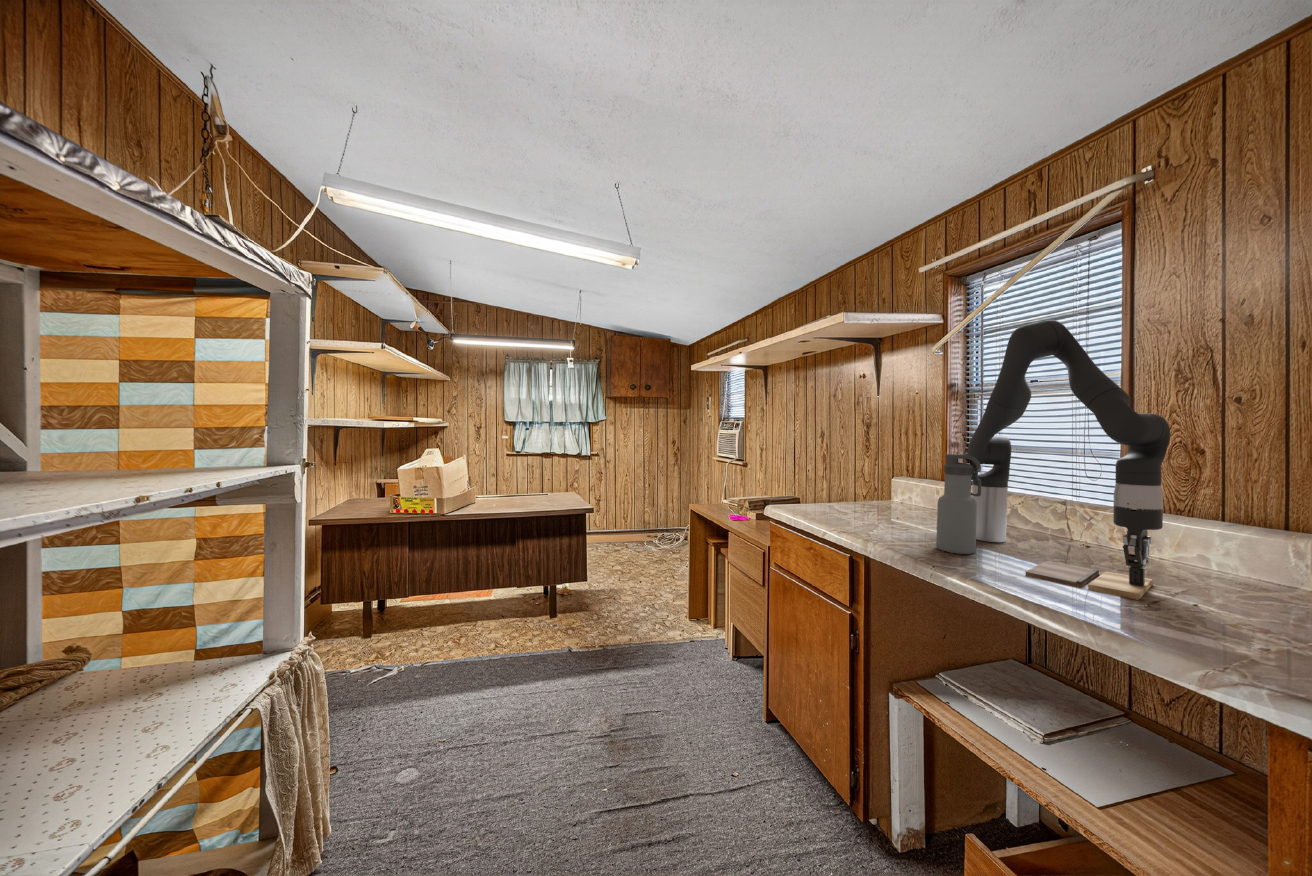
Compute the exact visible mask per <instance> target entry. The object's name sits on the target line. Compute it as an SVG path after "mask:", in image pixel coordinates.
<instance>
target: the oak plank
mask: <svg viewBox="0 0 1312 876" xmlns="http://www.w3.org/2000/svg"><path fill="white" fill-rule="evenodd" d="M1153 585H1154V584H1153V578H1148V577H1145V584H1144V585H1143V586H1138V585H1132V584H1130V583H1129V574H1123V573H1119V572H1117V573H1116V572H1111V571H1104V572H1103V573H1102V574H1100V575H1098V577H1097V576H1096V577H1095V578H1094V579H1092V580H1091V581H1090V582H1088V583H1087V590H1090V591H1095V592H1100V593H1104V594H1108V595H1114V596H1118V597H1121V598H1122V597H1123V598H1128V599H1132V600H1136V601H1137V600H1138V601H1139V600H1140V599H1141V598H1142V597H1143V596H1144V595H1145V593H1147V592H1148V591H1149V589H1150V588H1151V587H1152V586H1153Z"/></svg>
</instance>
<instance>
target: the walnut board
mask: <svg viewBox="0 0 1312 876" xmlns="http://www.w3.org/2000/svg"><path fill="white" fill-rule="evenodd" d="M1024 574H1025V576H1026V577H1030V578H1035V579H1040V580H1044V581H1049V582H1053V583H1058V584H1063V585H1066V586H1072V587H1076V588H1080V589H1081V588H1082V587H1084V586H1085V585H1086V584H1089V583H1090V582H1092V581H1093V580H1094V579H1096V578H1097V576H1098V577H1099V576H1100V575H1099V574H1100V569H1098V568H1093V569H1092V568H1087V567H1082V566H1078V565H1077V566H1076V565H1071V564H1066V563H1060V562H1055V561H1050V560H1045V561H1043V562H1042V563H1040V564H1037V565H1035V566H1034V567H1032V568H1029V569H1028V570H1026V571H1025V573H1024Z"/></svg>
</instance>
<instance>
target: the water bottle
mask: <svg viewBox="0 0 1312 876" xmlns="http://www.w3.org/2000/svg"><path fill="white" fill-rule="evenodd" d="M944 458H945V459H946V463H945V464H944V465H943V467H944V468H943V475H944V487H943V488H944V491H943V492H944V494H943V495H941V496H939V498H938V499H937V511H936V542H935V545H936V548H937V549H938V550H940V551H942V552H945V551H946V553H949V552H950V554H954V553H956V555H972V554H974V553H976V549H977V539H976V526H977V502H976V501H975V500H974V499H973V498H972V495H973V496H980V495H981V480H980V479H978V475H979V473H980V472H981V471H982V466H981V465H982V464H980V462H979V461H978V460H977V459H976V458H975V457H973V456H970V455H968V454H963V453H962V454H961V453H959V454H958V453H957V454H956V453H945V457H944ZM961 459H963V460H965V461H967V462H968V463H967V462H965V463H964V462H959V460H961ZM973 480H976V481H977V482H978V492H977V494H974V493H973V491H972V489H971V488H972V481H973Z"/></svg>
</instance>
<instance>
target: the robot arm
mask: <svg viewBox="0 0 1312 876" xmlns="http://www.w3.org/2000/svg"><path fill="white" fill-rule="evenodd" d="M1049 356H1053V357H1055V358H1057V359H1058V360H1059V361H1060V362H1062V364H1064V365H1065V367H1066V371H1067V374H1068V375H1067V376H1068V385H1069V387H1070V391H1071V392H1072V393H1073V394H1074V395H1073V396H1075V397H1076V398H1077V399H1078V400H1079V401H1080V402H1081V403H1082V404H1083V405H1084V406H1085V407H1086V408H1087V409H1088V410H1089V411H1090V412H1092V414H1094V416H1095V418H1096V420H1097V422H1098V424H1099V425H1100V427H1101V429H1102V430H1103V432H1104V433H1105V434H1106V435H1107V436H1108V437H1109V438H1110V439H1111V440H1112V441H1114V442H1116V443H1118V444H1120V445H1124V446H1128V448H1127V452H1126V454H1125V455H1124V456H1122V457H1120V458H1118V459H1117V460H1116V462H1115V484H1114V490H1113V517H1112V518H1113V524H1114V525H1115V526H1116V527H1121V528H1126V530H1127V531H1126V533H1125V535H1122V542H1123V545H1122V549H1123V554H1124V560H1125V566H1127V567H1128V575H1129V583H1130V584H1132V585H1138V586H1143V585H1144V584H1145V578H1146V577H1145V575H1146V574H1145V573H1146V571H1145V570H1146V569H1147V567H1148V566H1147V565H1148V563H1149V557H1150V554H1151V544H1153V543H1152V536H1149V534H1148V531H1159V530H1161V529H1163V527H1164V525H1163V523H1164V522H1163V520H1164V519H1163V517H1164V513H1163V511H1164V507H1163V506H1164V496H1163V491H1162V464H1163V462H1164V459H1165V457H1166V453H1167V451H1168V448H1169V444H1170V441H1171V429H1170V425H1169V423H1168V421H1167V420H1166V419H1165V418H1164V417H1163V416H1161V415H1159V414H1156V413H1151V412H1149V413H1148V412H1146V413H1145V412H1137V411H1135V410H1134V409H1132V408H1131V406H1130V403H1131V397H1130V395H1129V394H1128V393H1127V392H1126V391H1125V390H1124V389H1123V388H1121V387H1120V386H1119V385H1118V383H1116V382H1114V381H1113V380H1112V378H1110V377H1109V376H1108V375H1106V373H1104V372H1103V370H1101V369H1100V368H1099V367H1098V365H1096V363H1095V362H1094V361H1093V360H1092V358H1091V357H1090V355H1089V354H1088V353H1087V352H1086V350H1085V349H1084V348H1083V346H1082V345H1081V344H1080V343H1079V341H1078V340H1077V338H1075V335H1073V334H1072V333H1071V331H1070V330H1069V329H1068V327H1066V326H1065V325H1064V324H1063V323H1061V321H1058V320H1055V319H1046V320H1041V321H1037V322H1032V323H1027V324H1024V325H1021V326H1019V327H1017V328H1016V329H1015V330H1013V331H1012V333H1011V334H1010V337H1009V339H1008V342H1007V345H1006V350H1005V353H1004V356H1003V357H1004V358H1003V361H1002V365H1001V368H1000V372H999V373H998V374H999V375H998V376H997V380H996V382H995V384H994V387H993V389H992V392H991V393H990V396H989V398H988V402H987V405H986V407H985V410H984V412H983V414H982V415H983V416H982V417H981V420H980V422H979V424H978V425H977V427H976V429H975V431H974V433H973V435H972V436H971V438H970V440H969V443H968V445H967V446H968V447H967V452H966V453H967V454H966V455H970V456H973V457H975V458H976V459H977V460H978V461H979V462H980V465H993V466H992V467H991V469H989V470H988V471H986V472H983V473H980V474H979V473H978V479H980V480H981V495H980V496H973V495H971V497H972V498H973V499H974V500H975V501H976V502H977V526H976V541H982V542H990V543H1005V542H1007V525H1008V523H1007V519H1008V514H1007V513H1008V491H1009V490H1008V489H1009V488H1008V487H1009V486H1008V485H1009V478H1010V468H1011V460H1012V459H1011V458H1012V443H1011V440H1010V439H1009V437H1008V436H1003V435H997V434H999V433H1000V432H1001V431H1003V430H1005V429H1006V428H1008V427H1009V426H1011V425H1013V424H1015V422H1017V421H1018V420H1019V419H1021V418H1022V416H1023V415H1024V414H1025V412H1026V410H1027V407H1028V405H1029V404H1030V402H1031V398H1032V389H1031V387H1030V385H1029V382H1028V381H1027V379H1026V374H1027V371H1028V368H1029V367H1030V365H1031V364H1032V363H1033V361H1034V360H1038V359H1042V358H1047V357H1049ZM977 492H978V482H977V481H976V480H973V479H972V493H974V494H977Z"/></svg>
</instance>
